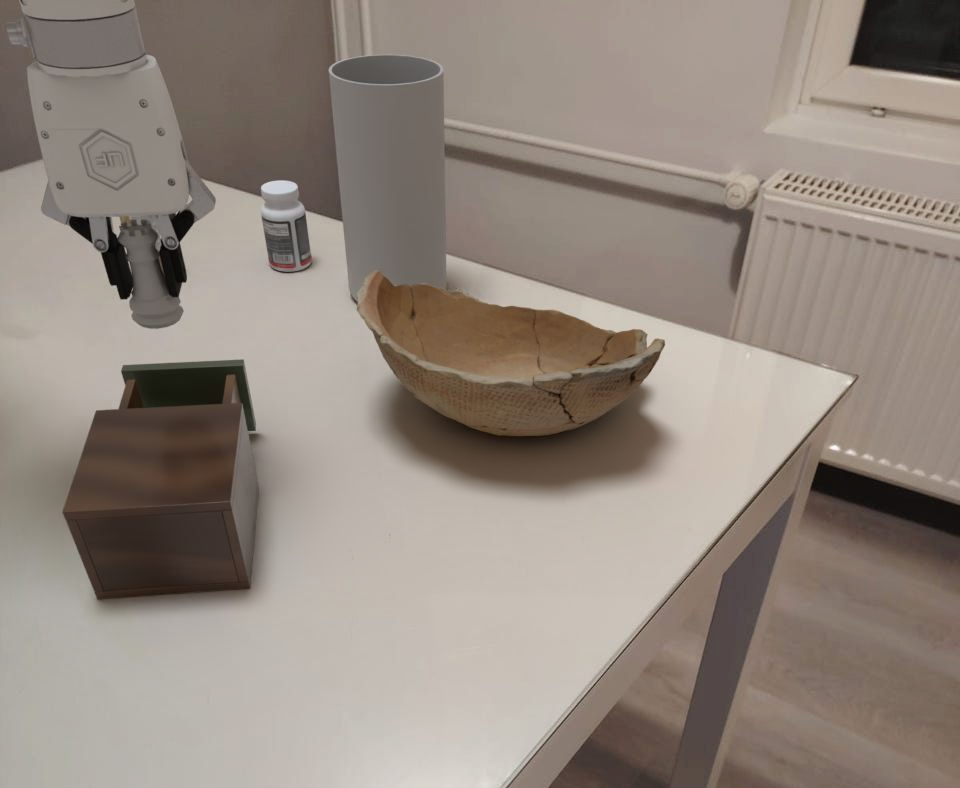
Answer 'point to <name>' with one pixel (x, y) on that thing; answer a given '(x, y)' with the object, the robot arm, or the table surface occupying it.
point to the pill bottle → (285, 226)
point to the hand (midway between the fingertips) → (151, 289)
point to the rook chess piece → (148, 278)
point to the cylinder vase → (391, 167)
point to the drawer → (188, 385)
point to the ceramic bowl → (502, 358)
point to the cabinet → (165, 501)
